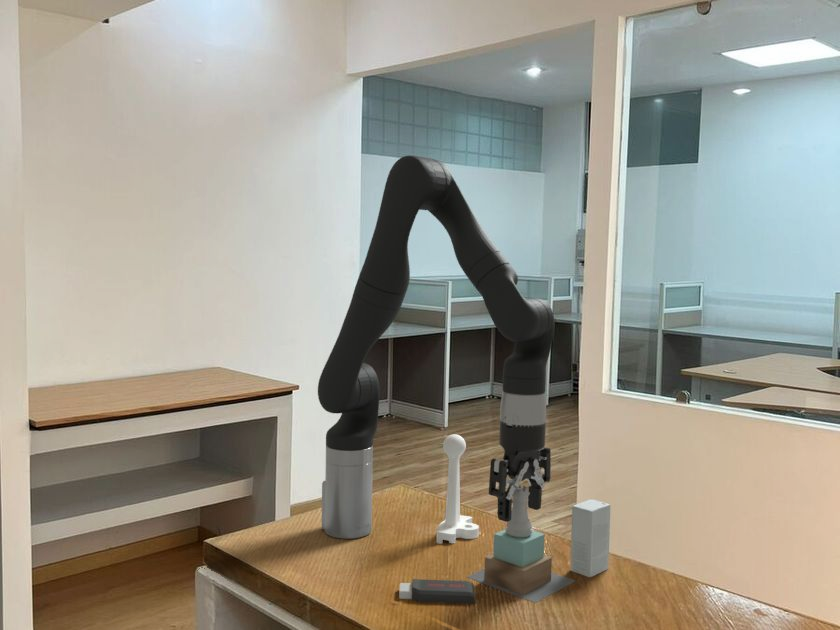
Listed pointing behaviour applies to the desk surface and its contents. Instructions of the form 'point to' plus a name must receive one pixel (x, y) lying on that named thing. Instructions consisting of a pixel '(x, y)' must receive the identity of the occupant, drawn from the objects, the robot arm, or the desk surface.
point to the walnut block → (518, 574)
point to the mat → (534, 595)
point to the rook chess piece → (519, 515)
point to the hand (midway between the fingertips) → (519, 514)
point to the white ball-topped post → (455, 497)
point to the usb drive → (438, 591)
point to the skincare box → (590, 537)
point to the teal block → (518, 548)
